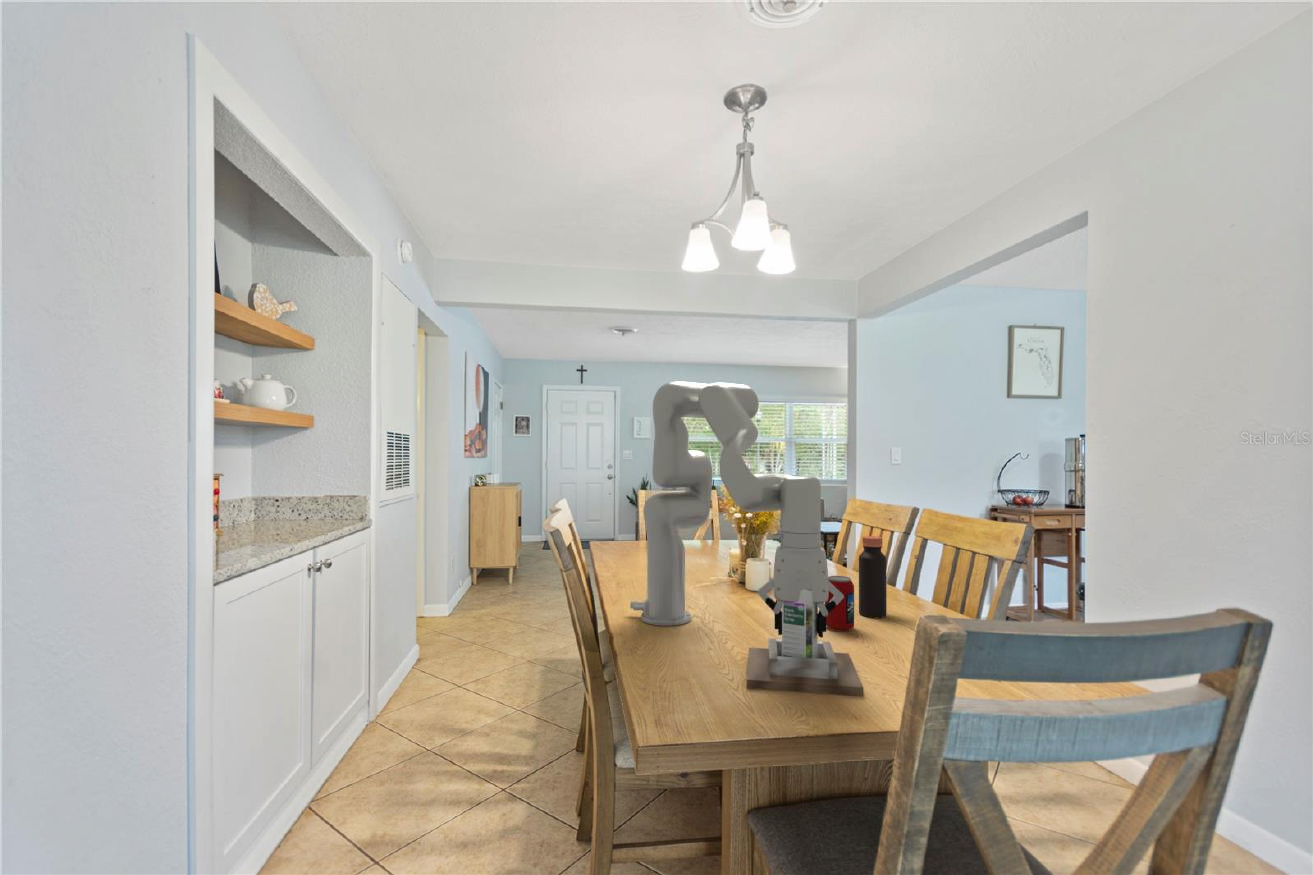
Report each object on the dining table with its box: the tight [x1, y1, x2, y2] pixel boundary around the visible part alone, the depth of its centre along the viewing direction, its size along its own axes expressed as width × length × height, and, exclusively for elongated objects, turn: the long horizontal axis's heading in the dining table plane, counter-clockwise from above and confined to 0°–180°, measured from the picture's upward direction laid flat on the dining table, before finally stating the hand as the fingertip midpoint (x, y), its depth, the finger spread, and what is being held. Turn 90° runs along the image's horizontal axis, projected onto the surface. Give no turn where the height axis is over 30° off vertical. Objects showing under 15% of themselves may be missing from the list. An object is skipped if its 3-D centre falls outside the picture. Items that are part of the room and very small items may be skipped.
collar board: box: [746, 638, 864, 697], centre depth 116 cm, size 20×18×4 cm
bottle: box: [858, 535, 888, 619], centre depth 158 cm, size 7×7×20 cm
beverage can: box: [824, 575, 855, 632], centre depth 146 cm, size 7×7×12 cm
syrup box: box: [781, 589, 819, 659], centre depth 116 cm, size 6×6×14 cm
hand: (800, 633), depth 116 cm, fingers closed on syrup box, 6 cm apart
